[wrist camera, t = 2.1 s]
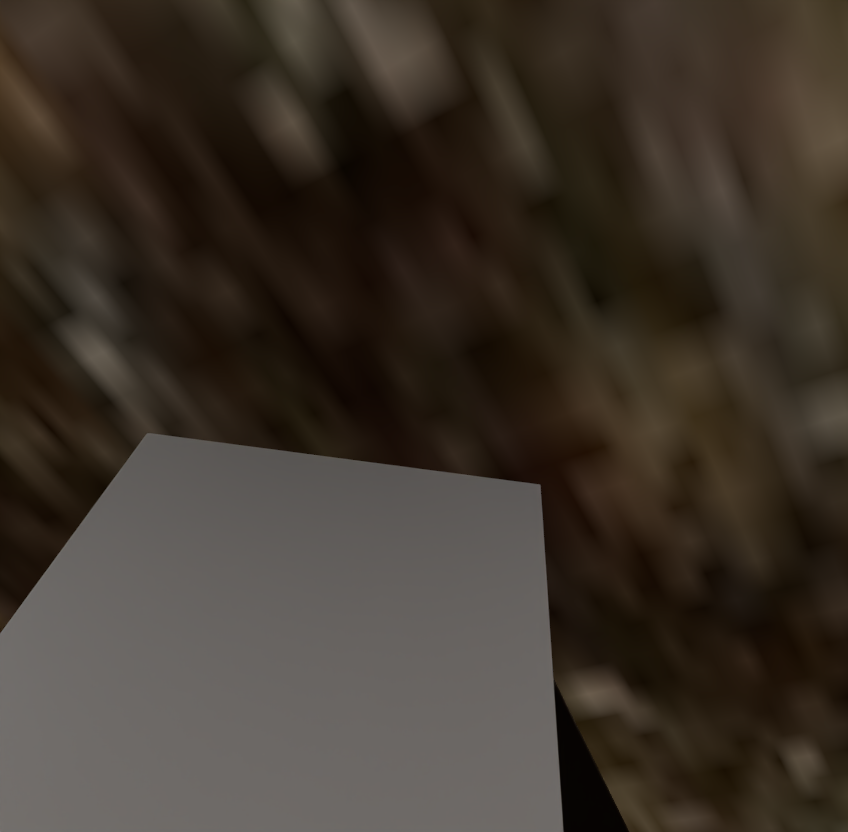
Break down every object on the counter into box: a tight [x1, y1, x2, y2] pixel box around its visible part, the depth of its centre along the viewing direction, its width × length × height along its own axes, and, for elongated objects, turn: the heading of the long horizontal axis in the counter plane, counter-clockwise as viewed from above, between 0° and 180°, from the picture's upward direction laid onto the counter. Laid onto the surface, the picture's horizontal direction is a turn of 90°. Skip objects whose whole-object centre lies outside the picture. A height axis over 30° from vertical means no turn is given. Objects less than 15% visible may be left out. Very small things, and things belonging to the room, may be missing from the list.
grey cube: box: [0, 433, 563, 832], centre depth 8 cm, size 5×5×5 cm
